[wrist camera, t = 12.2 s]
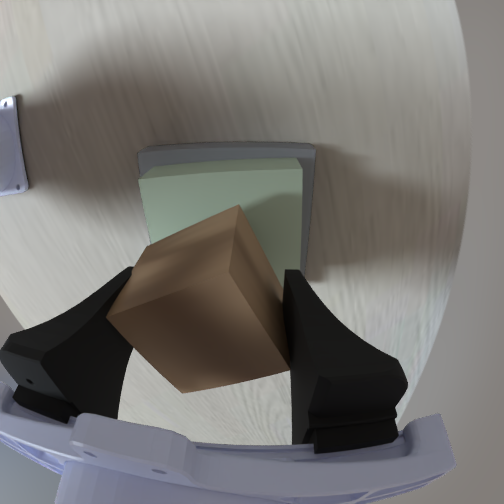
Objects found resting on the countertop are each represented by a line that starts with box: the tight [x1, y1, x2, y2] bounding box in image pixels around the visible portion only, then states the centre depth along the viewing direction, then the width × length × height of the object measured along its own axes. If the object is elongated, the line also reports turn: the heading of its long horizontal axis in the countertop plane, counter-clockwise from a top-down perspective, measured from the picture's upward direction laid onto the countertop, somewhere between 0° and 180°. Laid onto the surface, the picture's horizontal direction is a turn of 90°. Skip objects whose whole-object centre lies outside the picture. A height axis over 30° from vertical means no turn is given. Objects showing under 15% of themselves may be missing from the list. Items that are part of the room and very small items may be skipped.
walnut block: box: [106, 204, 291, 393], centre depth 12 cm, size 5×5×5 cm
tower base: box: [137, 142, 316, 276], centre depth 19 cm, size 10×10×2 cm
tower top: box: [138, 158, 303, 288], centre depth 17 cm, size 8×8×2 cm
